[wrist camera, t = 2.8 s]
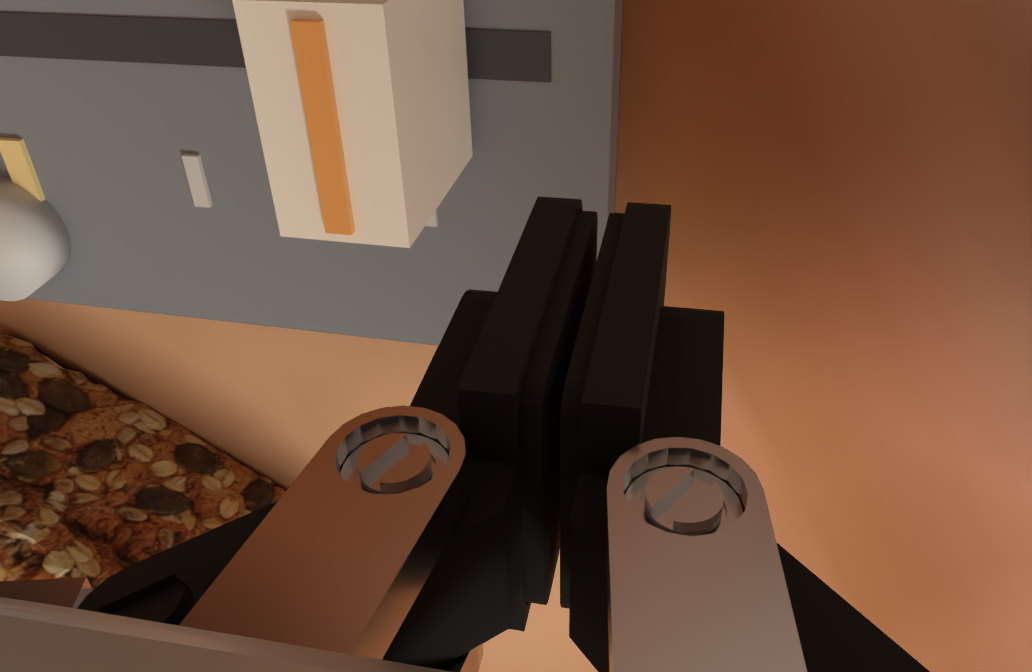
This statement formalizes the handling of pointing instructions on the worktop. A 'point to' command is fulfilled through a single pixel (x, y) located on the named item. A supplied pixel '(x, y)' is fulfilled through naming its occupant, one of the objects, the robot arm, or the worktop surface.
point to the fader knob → (358, 112)
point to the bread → (101, 475)
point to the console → (243, 174)
